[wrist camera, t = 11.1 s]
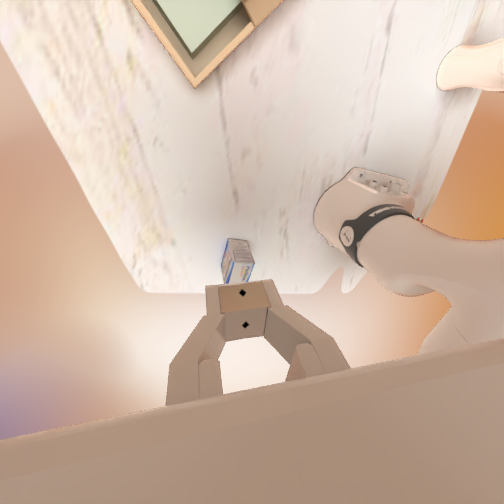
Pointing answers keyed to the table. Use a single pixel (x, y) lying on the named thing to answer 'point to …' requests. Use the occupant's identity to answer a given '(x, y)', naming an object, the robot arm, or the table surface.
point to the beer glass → (473, 67)
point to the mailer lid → (258, 9)
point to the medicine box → (237, 262)
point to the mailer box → (197, 31)
